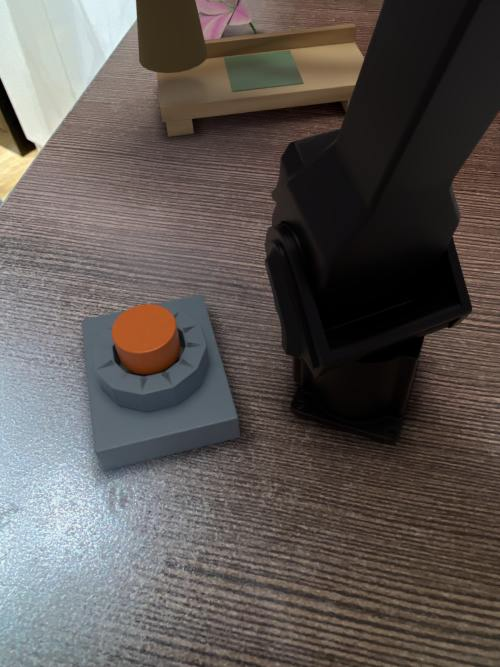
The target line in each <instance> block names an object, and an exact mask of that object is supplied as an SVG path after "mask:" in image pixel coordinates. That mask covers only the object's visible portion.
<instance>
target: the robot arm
mask: <svg viewBox="0 0 500 667" xmlns="http://www.w3.org/2000/svg"><path fill="white" fill-rule="evenodd" d="M499 113H500V0H383V2H382V5H381V9H380V11H379V14H378V17H377V19H376V23H375V26H374V28H373V31H372V35H371V38H370V40H369V44H368V46H367V50H366V52H365V55H364V61H363V64H362V67H361V70H360V73H359V76H358V79H357V82H356V84H355V87H354V90H353V93H352V96H351V99H350V102H349V105H348V108H347V111H346V112H345V114H344V117H343V120H342V123H341V126H340V128H336V129H333V130H330V131H329V130H328V131H326V132H323V133H319V134H315V135H311V136H308V137H305V138H301V139H296V140H292V141H290V142H289V143H288V145H287V146H286V148H285V149H284V151H283V152H282V155H281V156H280V162H279V172H278V180H277V183H276V185H275V188H274V189H273V190H272V191H271V192H270V197H271V199H272V200H273V202H275V206H274V208H273V211H272V214H271V226H269V227H267V229H266V234H265V241H264V243H263V244H264V250H265V251H264V252H265V259H264V266H265V271H266V274H267V277H268V282H269V285H270V289H271V292H272V298H273V304H274V309H275V311H276V313H277V315H278V320H279V323H280V332H281V348H282V350H283V352H284V354H285V355H286V356H290V357H292V358H291V379H292V380H293V382H294V383H296V384H298V385H297V387H296V390H295V392H294V394H293V397H292V398H291V401H290V409H289V410H290V412H291V413H292V415H294V416H297V417H300V418H303V419H306V420H309V421H313V422H316V423H320V424H322V425H325V426H329V427H333V428H336V429H339V430H342V431H345V432H348V433H352V434H355V435H358V436H361V437H365V438H367V439H372V440H375V441H378V442H381V443H385V444H388V445H393V444H397V442H398V441H399V439H400V436H401V432H402V428H403V425H404V421H405V417H406V413H407V409H408V405H409V402H410V398H411V395H412V391H413V387H414V383H415V379H416V376H417V372H418V368H419V365H420V356H421V351H422V349H423V345H424V340H425V337H426V336H428V335H431V334H433V333H436V332H439V331H441V330H445V329H452V328H454V327H457V326H459V325H460V324H461V323H462V322H463V321H464V320H466V319H467V318H468V317H469V316H470V315H471V314H472V312H473V305H472V301H471V298H470V294H469V291H468V287H467V284H466V280H465V276H464V273H463V269H462V266H461V262H460V258H459V254H458V251H457V247H456V243H455V240H454V234H455V232H456V231H457V228H458V227H459V224H460V221H461V218H462V216H461V212H460V209H459V205H458V202H457V198H456V195H455V192H454V189H453V182H454V180H455V178H456V177H457V175H458V173H459V172H460V171H461V169H462V167H463V166H464V165H465V163H466V162H467V160H468V159H469V157H470V156H471V155H472V153H473V151H474V150H475V148H476V147H477V146H478V144H479V143H480V141H481V139H482V138H483V137H484V135H485V134H486V132H487V131H488V129H489V128H490V127H491V125H492V123H493V122H494V120H495V119H496V117H497V116H498V115H499ZM297 406H300V407H301V408H297ZM388 433H390V434H393V436H389V435H388Z"/></svg>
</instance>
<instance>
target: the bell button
mask: <svg viewBox="0 0 500 667" xmlns="http://www.w3.org/2000/svg"><path fill="white" fill-rule="evenodd" d="M153 304H154V303H146V304H139V305H135V306H133V307H130V308H128V309H126V311H125V310H124V311H125V312H123V313H122V314H121V315H120V316H119V317H118V318H117V319H116V321H115V322H114V325H113V328H112V338H113V341H114V344H115V347H116V350H117V353H118V356H119V359H120V361H121V363H122V365H123V366H124V367H125V368H126V369H128V370H129V371H131V372H133V373H136V374H141V375H151V374H156V373H159V372H162V371H164V370H166V369H167V368H169V367H170V366H171V365H172V364H173V363H174V362H175V361H176V360H177V358H178V356H179V354H180V350H181V344H180V339H179V334H178V329H177V324H176V320H175V318H174V316H173V315H172V313H171V312H170V311H169V310H167V309H166V308H164V307H161V306H158V305H153Z"/></svg>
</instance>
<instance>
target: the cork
mask: <svg viewBox="0 0 500 667" xmlns="http://www.w3.org/2000/svg"><path fill="white" fill-rule="evenodd" d="M135 9H136V26H137V27H136V28H137V45H138V46H137V47H138V62H139V64H140V65H141V67H142V68H144V69H146V70H147V71H150V72H155V73H156V72H158V73H176V72H182V71H186V70H190V69H192V68H195V67H197V66H199V65H200V64H202V63H203V62H204V61H205V60H206V58H207V48H206V44H205V40H204V35H203V31H202V27H201V22H200V18H199V10H198V9H197V5H196V0H135Z"/></svg>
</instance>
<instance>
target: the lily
mask: <svg viewBox="0 0 500 667" xmlns="http://www.w3.org/2000/svg"><path fill="white" fill-rule="evenodd" d="M196 5H197V9H198V14H199V18H200V22H201V27H202V31H203V35H204V40H209V39H218V38H222V35H223V33H224V31H225V29H226V26H240V25H246V24H248V25H249V26H250V28H251V29H252V31H253V33H254V34H259V33H258V31H257V29H256V28H255V25H254V24H253V23H252V21H253V19H252V18H253V17H252V14H251V11H250V9H249V6H248V4H247V2H246V0H196Z"/></svg>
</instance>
